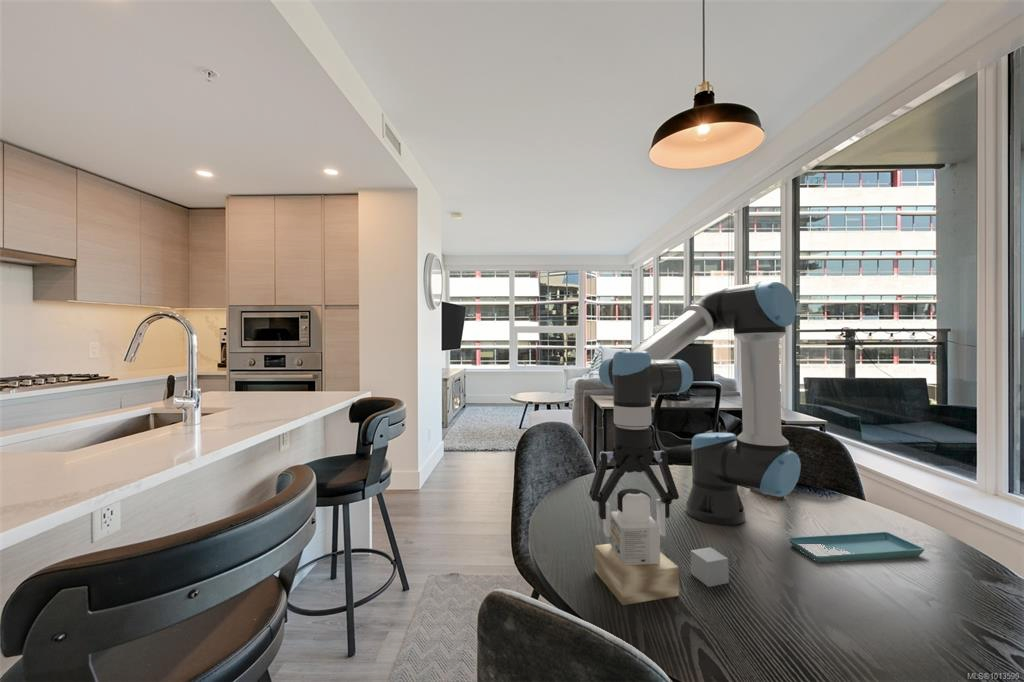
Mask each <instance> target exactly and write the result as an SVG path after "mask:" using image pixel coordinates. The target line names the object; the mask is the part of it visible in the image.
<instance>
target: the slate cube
mask: <svg viewBox="0 0 1024 682" xmlns="http://www.w3.org/2000/svg"><path fill="white" fill-rule="evenodd" d="M729 569H730V568H729V558H728V557H727V556H725V555H724V554H722V553H721V552H719V551H718V550H715V549H714V548H712V547H710V546H709V547H703V548H698V549H691V550H690V574H691V575H692V576H693V577H694V578H696V579H697V580H698V581H700V582H701V583H703V584H704V585H705V586H707V587H709V588H710V587H715V586H720V585H724V584H725V585H727V584H729V582H730V581H729V579H730V578H729V577H730V575H729V572H730V571H729Z"/></svg>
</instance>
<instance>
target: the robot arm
mask: <svg viewBox="0 0 1024 682" xmlns="http://www.w3.org/2000/svg"><path fill="white" fill-rule="evenodd" d="M796 317H797V305H796V301H795V298H794V295H793V293H792V291H791V290H790V289H789V287H788V286H787V285H786V284H784V283H783V282H781V281H777V280H770V281H768V280H767V281H758V282H753V283H746V284H738V285H733V286H726V287H725V286H724V287H721V288H718V289H715V290H713V291H710V292H708V293H706V294H704V295H703V296H701V297H699V298H697V299H696V300H694V301H693V302H692V303H690V304H688V305H687V306H686V307H684V308H683V310H682V311H681V314H680V315H678V317H676V318H675V319H673V320H672V321H670V322H669V323H667V324H666V325H665V326H663V327H662V328H660V329H659V330H657V331H656V332H655V333H653V334H652V335H650V336H649V337H648V338H646V339H644V340H643V341H641V342H640V343H639V344H637V345H636V346H634V347H633V348H632V349H630V350H629V351H627V350H626V351H625V350H621V351H617V352H615V353H614V354H613V357H612V358H606V359H604V360H603V361H602V362H601V364H600V365H599V367H598V377H599V380H600V382H601V384H602V385H603V386H605V387H607V388H611V389H612V391H613V392H612V393H613V395H612V396H613V402H612V403H613V423H614V426H613V449H612V450H611V451H603V450H599V451H598V463H597V467H596V470H595V473H594V477H593V479H592V483H591V485H590V489H589V493H588V495H589V497H590V499H591V500H592V501H593V502H597V505H598V506H597V507H598V510H597V511H598V513H597V515H598V517H599V518H600V520H602V522H603V523H602V524H603V526H602V527H603V531H602V532H603V534H604V535H605V537H606V538H611V504H610V503H609V502H608V500H609V499H610V497H611V495H612V494H613V492H614V490H615V488H616V486H617V485H618V484H619V482H620V480H621V478H622V477H624V475H625V474H626V473H629V474H630V473H634V472H635V473H644V475H645V476H646V477H647V479H648V480H649V481H650V484H651V485H652V486H653V488H654V489H655V491H656V493H657V494H658V496H659V498H656V499H655V500H656V501H655V502H656V505H655V506H656V522H657V523H658V524H659V526H660V537H666V531H667V530H666V519H669V518H670V513H671V511H670V510H671V509H670V505H671V504H672V503H673V501H674V500H678V499H680V495H679V492H678V490H677V487H676V484H675V480H674V478H673V475H672V472H671V468H670V467H669V454H668V452H666V451H665V450H663V449H659V450H653V448H652V447H653V439H652V437H653V434H652V433H653V432H652V428H651V427H650V426H651V425H652V396H657V395H670V394H671V395H677V394H680V393H683V392H686V391H687V390H689V389H690V387H691V386H692V385H693V380H694V374H693V369H692V367H691V366H690V365H689V364H688V362H686V361H684V360H682V359H675V358H672V357H674V356H675V355H676V354H678V353H679V352H680V351H682V350H683V349H684V348H686V347H687V346H688V345H690V344H691V343H693V342H694V341H695V340H696V339H698V338H699V337H705V336H708V335H709V334H711V333H712V332H716V331H720V330H730V329H731V330H732V329H733V336H734V337H735V338H736V339H738V340H739V342H740V374H741V377H740V378H741V410H742V411H741V413H742V414H741V415H742V416H741V418H742V419H741V420H742V431H741V432H740V433H739V434H738V435H736V434H735V433H732V432H705V433H703V432H702V433H698V434H695V435H694V436H693V437H692V439H691V448H690V451H691V474H692V475H691V477H692V479H691V481H692V482H691V483H692V484H691V488H690V490H689V494H688V496H687V500H686V503H685V505H686V506H685V507H686V508H685V509H686V513H687V514H688V515H689V516H690V517H692V518H694V519H696V520H699V521H702V522H704V523H705V522H706V523H709V524H714V525H720V526H734V525H740V524H742V523H744V522H745V521H746V510H745V508H744V505H743V502H742V499H741V497H740V494H739V491H738V486H739V487H742V488H745V489H749V490H750V489H752V490H755V491H758V492H761V493H763V494H769V495H773V496H778V497H782V496H784V497H785V496H787V495H788V494H790V493H791V492H792V491H793V490H794V489H795V486H796V485H797V483H798V482H799V477H800V475H801V466H802V465H801V464H802V463H801V459H800V457H799V455H798V454H797V453H796V452H795V451H793V450H790V442H789V441H790V440H788V439H787V438H786V437H784V435H783V434H782V410H781V409H782V403H781V402H782V401H781V371H780V370H781V369H780V341H781V339H782V338H783V337H784V336H785V335H786V334H787V332H786V328H787V327H789V326H791V325H793V324H794V322H795V320H796ZM612 458H613V459H614V460H615V462H616V463H615V464H614V466H613V469H612V471H611V473H610V474H609V476H608V478H607V479H606V482H605V483H604V480H605V479H604V478H605V477H606V476H605V475H606V472H607V467H608V464H609V463H610V462H611V460H612ZM653 459H655V461H656V462H657V463H658V467H659V469H660V473H661V475H662V478H663V481H664V484H665V487H666V490H665V489H664V487H663V485H662V484H661V482H660V480H659V479H658V477H657V476H656V474H655V472H654V471H653V469H652V468H651V466H650V464H651V462H652V460H653ZM603 483H604V485H603ZM602 485H603V487H602ZM666 491H667V492H666Z"/></svg>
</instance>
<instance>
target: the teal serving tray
mask: <svg viewBox="0 0 1024 682" xmlns="http://www.w3.org/2000/svg"><path fill="white" fill-rule="evenodd" d="M787 541H789V543H790V545H791V546H792V545H793V546H794V547H796V548H797V549H796V548H795V549H796V550H798V549H799V550H801V551H802V552H804V553H805V554H804V553H803V554H804V555H806V554H807V555H808V556H807V555H806V556H807V557H809V556H810V557H811V558H810V557H809V558H810V559H812V558H813V559H815V560H816V561H818V562H817V563H828V562H827V561H836V562H842V561H841V560H855V561H870V560H869V559H871V560H887V559H889V558H890V559H903V558H916V557H917V558H918V557H920V556H921V554H923V553H924V551H925V550H926V549H925V548H924V547H922V546H919V545H917V544H915V543H913V542H910V541H909V540H906V539H904V538H902V537H899V536H897V535H896V534H895V535H894V534H893V533H890V532H888V531H878V532H863V533H849V534H830V535H829V534H827V535H812V536H809V535H808V536H796V537H795V536H793V537H787ZM798 544H821V545H822V544H823V545H825V547H826V548H827V549H828V550H830V549H833V547H835V549H836V550H838V551H840V550H841V549H842V551H844V550H845V551H848V552H850V553H851V554H842V555H829V556H816V555H814V554H813V553H811V552H809V551H808V550H806V549H805V548H803V547H802V546H800V545H798ZM823 545H822V546H823ZM793 546H792V547H793ZM794 547H793V548H794ZM825 547H824V549H826V548H825ZM829 548H830V549H829ZM837 548H838V549H837ZM839 549H840V550H839ZM843 549H844V550H843ZM799 550H798V551H799ZM801 551H800V552H801ZM802 552H801V553H802ZM827 552H828V551H827ZM853 553H854V554H853ZM813 559H812V560H813ZM815 560H814V561H815ZM816 561H815V562H816Z"/></svg>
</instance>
